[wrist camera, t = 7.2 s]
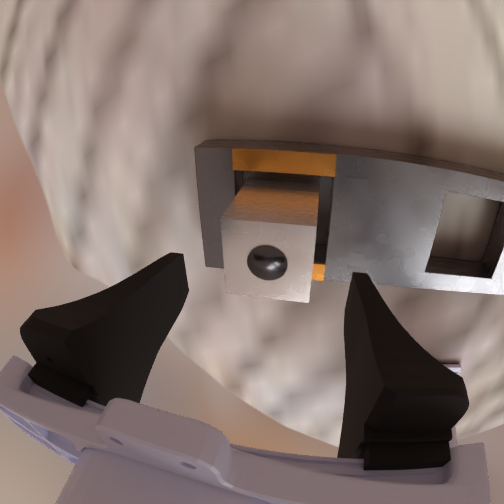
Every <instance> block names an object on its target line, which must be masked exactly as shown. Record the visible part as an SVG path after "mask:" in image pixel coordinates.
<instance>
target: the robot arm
mask: <svg viewBox="0 0 504 504" xmlns="http://www.w3.org/2000/svg"><path fill="white" fill-rule="evenodd" d="M188 292H189V288H188V281H187V275H186V269H185V262H184V256H183V254H180V253H169V254H167V255H165V256H163V257H161V258H160V259H158V260H156V261H155V262H153V263H152V264H150V265H148V266H147V267H145V268H143V269H142V270H140V271H138V272H137V273H135V274H133V275H132V276H130V277H128V278H126V279H124V280H123V281H121V282H119V283H117V284H115V285H113V286H111V287H109V288H107V289H105V290H103V291H101V292H99V293H96V294H93V295H91V296H88V297H85V298H83V299H80V300H77V301H74V302H70V303H67V304H63V305H59V306H55V307H49V308H44V309H38V310H35V311H34V312H33V313H32V315H31V316H30V317H29V318H28V319H27V321H25V322H24V324H23V325H22V326H21V327H20V334H21V337H22V340H23V341H24V343H25V345H26V347H27V348H28V350H29V351H30V353H31V355H32V356H33V358H34V359H35V360H36V362H37V363H36V364H35V365H34V367H32V366H31V365H30V364H29V363H28V362H26V361H24V360H22V359H20V358H18V357H16V356H12V358H11V359H10V360H9V362H8V363H7V364H6V365H5V366H4V368H3V369H2V370H1V372H0V410H1V411H2V412H3V413H4V414H5V416H6V417H8V419H9V420H10V421H11V422H12V423H13V424H14V425H16V426H17V427H19V428H20V429H22V430H23V431H24V432H26V433H27V434H29V435H30V436H32V437H33V438H35V439H36V440H37V441H39V442H40V443H42V444H43V445H45V446H46V447H48V448H49V449H51V450H52V451H54V452H55V453H57V454H59V455H60V456H62V457H63V458H65V459H67V460H68V461H70V462H71V463H73V464H75V467H74V469H73V470H72V472H71V474H70V476H69V478H68V480H67V482H66V484H65V486H64V488H63V490H62V492H61V494H60V496H59V498H58V500H57V501H56V503H55V504H489V503H490V502H491V500H490V487H489V476H488V468H487V460H486V453H485V446H484V443H482V442H481V443H474V444H466V445H459V446H458V442H457V435H456V428H455V424H456V423H457V422H458V421H459V420H460V419H461V418H462V417H463V415H464V414H465V412H466V411H467V409H468V407H469V400H468V395H467V390H466V387H465V384H464V381H463V378H462V377H461V376H459V375H458V374H459V373H460V371H461V369H462V368H461V365H459V364H441V363H440V362H439V361H438V360H436V359H435V358H434V357H433V356H431V355H430V354H429V353H428V352H427V351H426V350H425V349H423V348H422V347H421V346H420V345H419V344H418V343H417V342H416V341H415V340H414V339H413V338H412V337H411V336H410V335H409V333H408V332H407V331H406V330H405V329H404V328H403V327H402V325H401V324H400V323H399V322H398V320H397V319H396V318H395V316H394V315H393V314H392V312H391V311H390V309H389V308H388V306H387V305H386V303H385V302H384V300H383V299H382V297H381V295H380V294H379V292H378V290H377V289H376V287H375V285H374V284H373V282H372V280H371V278H370V276H369V275H368V274H367V273H360V272H353V273H352V278H351V283H350V288H349V293H348V298H347V302H346V307H345V317H344V342H345V359H346V393H345V405H344V414H343V423H342V431H341V438H340V444H339V451H338V456H337V458H330V457H318V456H308V455H298V454H290V453H282V452H275V451H268V450H261V449H256V448H250V447H244V446H240V445H234V444H230V442H229V440H228V439H227V438H226V436H225V435H224V434H223V432H222V431H220V430H218V429H217V428H215V427H213V426H212V425H210V424H207V423H204V422H201V421H199V420H196V419H192V418H188V417H184V416H181V415H177V414H173V413H170V412H166V411H162V410H159V409H155V408H153V407H149V406H146V405H143V404H140V400H141V397H142V393H143V390H144V387H145V384H146V381H147V379H148V376H149V373H150V370H151V368H152V365H153V363H154V361H155V358H156V355H157V353H158V351H159V349H160V347H161V345H162V343H163V342H164V340H165V338H166V337H167V335H168V333H169V331H170V330H171V328H172V326H173V324H174V323H175V321H176V319H177V317H178V315H179V314H180V312H181V310H182V308H183V305H184V303H185V300H186V298H187V295H188Z"/></svg>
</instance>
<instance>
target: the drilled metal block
mask: <svg viewBox="0 0 504 504" xmlns="http://www.w3.org/2000/svg"><path fill="white" fill-rule="evenodd" d="M319 185H320V176H318V175H306V174H293V173H279V172H261V171H253V172H252V173H251V175H250V176H249V177H248V179H247V180H246V182H245V183H244V185H243V186H242V188H241V189H240V191H239V192H238V193H237V195H236V196H235V198H234V199H233V201H232V202H231V204H230V205H229V207H228V208H227V210H226V211H225V213H224V214H223V216H222V217H221V219H220V220H221V234H222V247H223V260H224V273H225V285H226V293H230V294H237V295H245V296H253V297H261V298H270V299H278V300H287V301H296V302H306V303H309V297H310V288H311V279H312V270H313V261H314V251H315V241H316V230H317V217H318V202H319Z"/></svg>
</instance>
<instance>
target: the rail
mask: <svg viewBox="0 0 504 504" xmlns="http://www.w3.org/2000/svg"><path fill="white" fill-rule="evenodd" d="M194 150H195V163H196V175H197V187H198V198H199V209H200V219H201V229H202V238H203V248H204V256H205V265H206V267H215V268H223V269H224V260H223V247H222V234H221V220H220V219H221V217H222V216H223V214H224V213H225V211H226V210H227V208H228V207H229V205H230V204H231V202H232V201H233V199H234V198H235V196H236V195H237V193H238V192H239V191H240V189H241V188H242V186H243V171H261V172H279V173H293V174H306V175H318V176H330V177H333V182H332V194H331V205H330V215H329V224H328V234H327V243H326V246H320V245H315V251H314V261H313V270H312V279H311V280H320V281H323V280H324V279H326V280H336V281H346V282H351V278H352V273H353V272H360V273H367V274H368V275H369V276H370V278H371V280H372V282H373V284H378V285H389V286H400V287H412V288H423V289H435V290H448V291H460V292H473V293H487V294H501V295H504V174H501V173H497V172H493V171H488V170H484V169H480V168H475V167H471V166H466V165H462V164H457V163H452V162H447V161H442V160H436V159H431V158H425V157H419V156H413V155H407V154H400V153H393V152H386V151H379V150H371V149H363V148H354V147H345V146H334V145H323V144H310V143H296V142H278V141H251V140H206V141H204V142H202V143H201V144H199V145H198V146H196V147H195V148H194ZM446 191H449V192H455V193H460V194H466V195H471V196H476V197H481V198H486V199H491V200H496V201H501V205H500V209H499V212H498V216H497V219H496V222H495V226H494V229H493V232H492V235H491V238H490V241H489V244H488V247H487V250H486V253H485V256H484V258H483V261H482V263H480V262H471V261H462V260H453V259H444V258H435V257H429V256H430V252H431V249H432V245H433V242H434V238H435V234H436V231H437V227H438V223H439V219H440V215H441V211H442V206H443V202H444V197H445V193H446Z"/></svg>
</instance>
